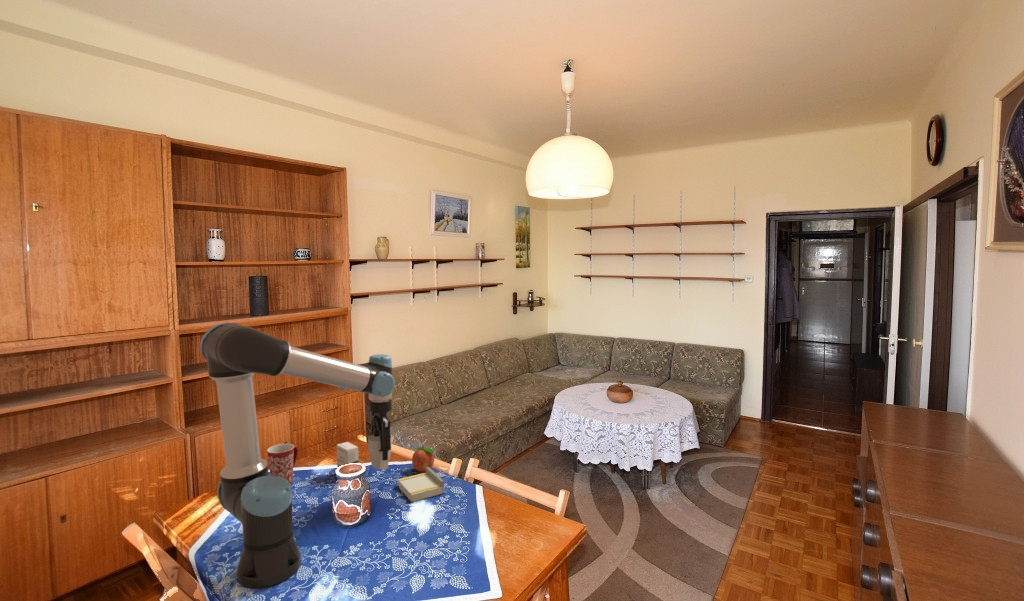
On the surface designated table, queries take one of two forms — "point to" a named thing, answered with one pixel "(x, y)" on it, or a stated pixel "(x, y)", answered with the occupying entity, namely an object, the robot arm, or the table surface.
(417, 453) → the fruit
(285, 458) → the mug
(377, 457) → the cup
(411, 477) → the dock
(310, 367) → the robot arm
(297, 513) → the table surface
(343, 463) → the ink box
